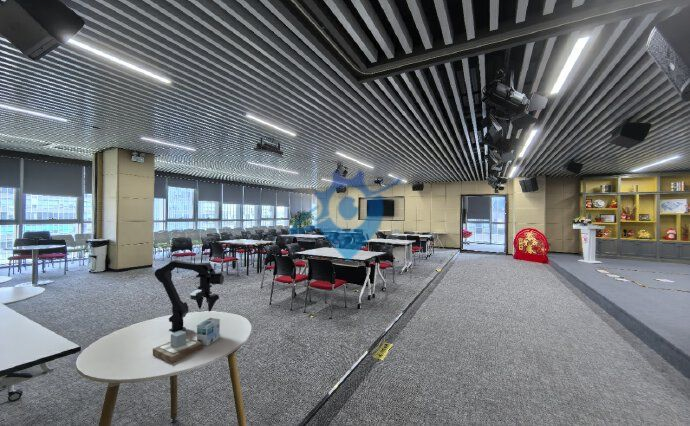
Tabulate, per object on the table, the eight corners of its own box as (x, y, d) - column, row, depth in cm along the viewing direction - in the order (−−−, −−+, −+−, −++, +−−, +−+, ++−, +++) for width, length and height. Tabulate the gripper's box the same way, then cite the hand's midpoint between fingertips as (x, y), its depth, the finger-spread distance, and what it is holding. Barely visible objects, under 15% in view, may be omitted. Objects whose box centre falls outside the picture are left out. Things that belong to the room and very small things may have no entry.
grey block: (170, 345, 141) (170, 334, 141) (180, 341, 145) (180, 330, 145) (176, 348, 138) (176, 336, 138) (186, 344, 143) (186, 332, 143)
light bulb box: (207, 346, 148) (207, 326, 148) (196, 344, 149) (196, 324, 149) (220, 337, 158) (220, 318, 158) (209, 336, 160) (209, 317, 159)
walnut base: (152, 354, 138) (152, 347, 138) (184, 341, 153) (184, 335, 153) (171, 363, 131) (171, 356, 131) (202, 348, 145) (202, 342, 145)
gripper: (182, 285, 165) (182, 311, 165) (202, 289, 156) (202, 317, 156) (199, 281, 174) (199, 305, 175) (219, 285, 166) (219, 311, 166)
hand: (204, 309), depth 168 cm, fingers open, 9 cm apart
